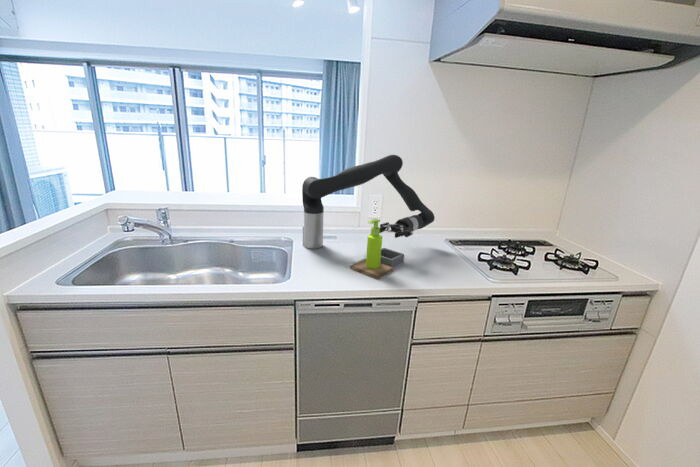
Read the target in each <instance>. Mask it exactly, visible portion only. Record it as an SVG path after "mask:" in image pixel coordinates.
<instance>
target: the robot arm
mask: <svg viewBox="0 0 700 467" xmlns="http://www.w3.org/2000/svg"><path fill="white" fill-rule="evenodd" d="M403 163H404V162H403V159H402V158H401V157H400V156H399V155H398V154H389V155H387V156H384V157H382V158H380V159H376V160H373V161H371V162H370V161H369V162H366V163H362V164H359V165H355V166H351V167H348V168H346V169H343V170H342V171H340V172H339V173H337V174H335V175H333V176H329V177H325V178H317V177H315V176H309V177H307V178H305V179H304V180H303V182H302V188H301V189H302V190H301V191H302V192H301V193H302V195H301V196H302V206H303V225H302V245H303V246H304V248H307V249H311V250H315V249H321V248H322V247H323V246H324V211H325V210H324V205H323V203H322V202H323V201H322V198H324V197H326V196H328V195H331V194H333V193H336V192H339V191H343V190H347V189H350V188H354V187H357V186H362V185H364V184H366V183H368V182H370V181H372V180H373V179H374V178H377V177H378V176H381V175H383V176H384V177H385V179H386V180H387V181H388V183H390V184H391V186H392V187H393V188H394V189H395V191H396V192H397V193H398V194H399V196H400V197H401V198H402V200H403V202H404V203H405V205H406V207H407V208H408V210H409V211H411V212H415V211H418V212H419V213H418V214H413V215H411V216H406V217H405V216H404V217H402V218H399V219H397V220H396V221H395V223H390V222H383V223H380V224H379V225H380V226H379V228H380V233H379V234H382V233H384V232H387V233H394V238H395V239H398V238H400V237H405V238H408V237H410V236H412V235H413V234H414V232H415V231H418V230H421V229H423V228H425V227H427V226H428V225H430V224H432V223H433V222H434V221H435V214H434V212H433V211H432V210H431V209H429V207H428V206H426V205H425V203H423V202H422V201H421V199H420V197H419V196H418V194H417V193H416V191H415V190H414V189H413V188H412V187H411V186H409V185H408V184H406V183H405V182H404V181H403V180H402V178H401V177H400V175H399V171H400V170H401V169H402V167H403Z"/></svg>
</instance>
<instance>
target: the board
mask: <svg viewBox="0 0 700 467" xmlns="http://www.w3.org/2000/svg"><path fill="white" fill-rule="evenodd" d="M349 269H350V270H353V271H356V272H358V273H359V274H360V273H361V274H362V275H365V276H368V277H371V278H373V279H376V280H379V279H381V278H383V277H384V276H386V275H388V274H390V273H392V272H393V271H394V268H393V267H390V266H387V265H384V264H382V263H380V267H379V268H378V269H370V268H367V267H366V258H364V259H361V260H359V261H357V262H354V263H352V264H350V265H349Z"/></svg>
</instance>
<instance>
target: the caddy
mask: <svg viewBox="0 0 700 467" xmlns="http://www.w3.org/2000/svg"><path fill="white" fill-rule="evenodd" d="M404 262H405V253H403V252H399V251H395V250H392V249H389V248H386V247H381V260H380V263H382V264H384V265H387V266H390V267H393V269H394V268H396V267H398V266H400V265H402V264H404Z"/></svg>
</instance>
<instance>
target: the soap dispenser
mask: <svg viewBox="0 0 700 467" xmlns="http://www.w3.org/2000/svg"><path fill="white" fill-rule="evenodd" d="M380 222H381V219H377V218H375V219H371V220H369V221H368V222H367V223H368V224H371V225H373V226H371V230H370V234H367V239H366V240H367V241H366V258H365V259H366V267H367V268H370V269H378V268H379V267H380V260H381V249H382V248H383V247H382V245H383V235H381V233H380V226H379V223H380Z"/></svg>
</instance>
